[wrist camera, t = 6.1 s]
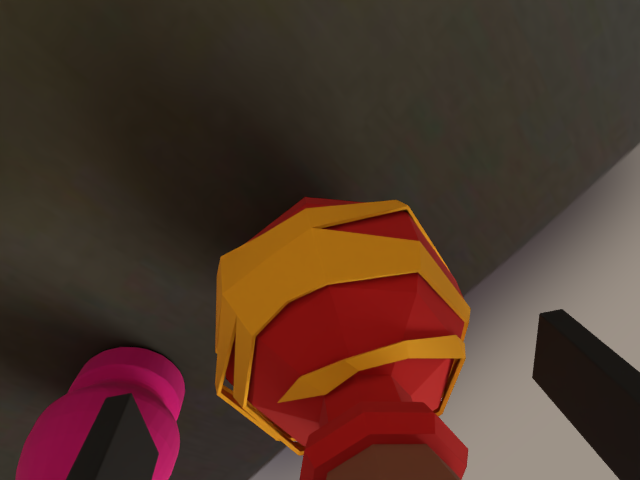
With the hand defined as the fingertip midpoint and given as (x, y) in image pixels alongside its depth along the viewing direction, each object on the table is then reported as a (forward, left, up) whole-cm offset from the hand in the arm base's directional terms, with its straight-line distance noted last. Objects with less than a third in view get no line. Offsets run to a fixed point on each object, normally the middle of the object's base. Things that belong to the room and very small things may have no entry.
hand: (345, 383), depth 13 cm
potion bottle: (0, 0, -10) cm, 10 cm away
